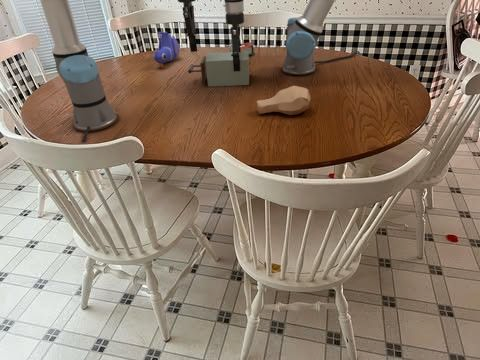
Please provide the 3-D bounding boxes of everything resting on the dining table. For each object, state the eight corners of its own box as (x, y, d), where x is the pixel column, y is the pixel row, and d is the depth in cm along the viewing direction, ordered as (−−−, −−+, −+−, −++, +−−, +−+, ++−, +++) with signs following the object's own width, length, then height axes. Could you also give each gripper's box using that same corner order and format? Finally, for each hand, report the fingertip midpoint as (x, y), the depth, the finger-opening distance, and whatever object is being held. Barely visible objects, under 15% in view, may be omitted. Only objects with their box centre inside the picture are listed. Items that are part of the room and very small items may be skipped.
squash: (314, 116, 128) (313, 95, 122) (259, 125, 130) (256, 105, 124) (308, 99, 136) (307, 78, 129) (257, 108, 138) (253, 88, 131)
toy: (167, 63, 198) (147, 69, 175) (163, 31, 191) (141, 33, 169) (184, 63, 195) (166, 69, 173) (180, 30, 189) (161, 32, 166)
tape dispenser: (245, 68, 177) (264, 54, 190) (245, 58, 174) (264, 44, 186) (216, 62, 185) (237, 49, 197) (215, 52, 181) (236, 39, 194)
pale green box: (208, 86, 157) (205, 61, 150) (210, 77, 166) (208, 53, 159) (248, 84, 156) (247, 59, 149) (249, 75, 165) (248, 51, 158)
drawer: (189, 84, 157) (186, 63, 152) (192, 76, 165) (190, 56, 160) (240, 82, 156) (239, 61, 150) (241, 74, 164) (240, 54, 158)
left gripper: (179, -12, 145) (187, 47, 159) (173, -7, 135) (182, 56, 149) (197, -14, 145) (204, 46, 159) (192, -8, 134) (200, 55, 148)
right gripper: (227, 7, 153) (230, 58, 166) (223, 19, 134) (227, 76, 147) (244, 6, 153) (246, 57, 166) (242, 18, 134) (245, 75, 147)
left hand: (194, 51), depth 154 cm, fingers closed
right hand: (237, 66), depth 157 cm, fingers closed on pale green box, 11 cm apart
